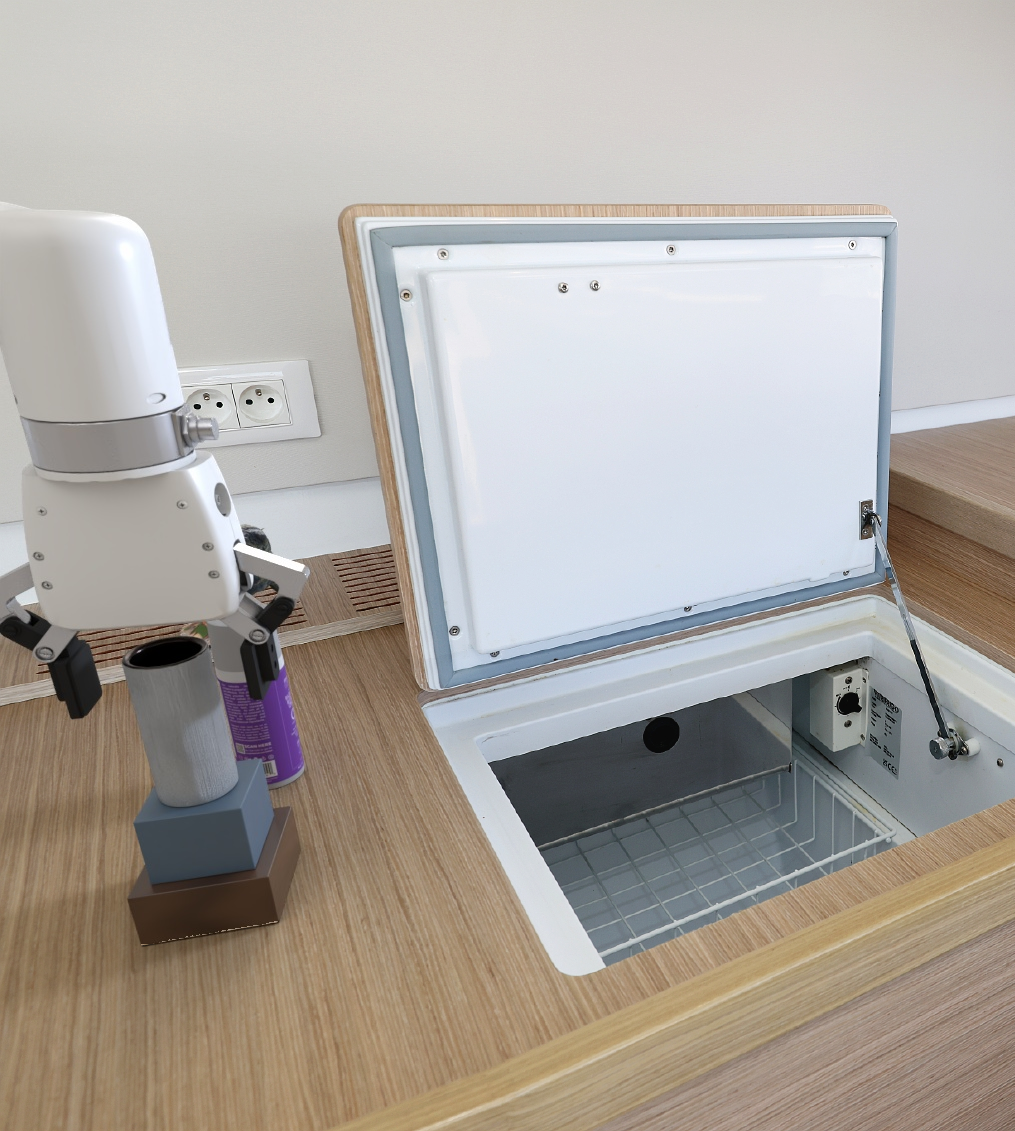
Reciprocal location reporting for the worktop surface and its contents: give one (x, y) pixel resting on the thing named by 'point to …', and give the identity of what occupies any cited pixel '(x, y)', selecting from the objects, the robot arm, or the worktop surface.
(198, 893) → the base block
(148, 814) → the top block
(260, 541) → the plant with pod
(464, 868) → the worktop surface
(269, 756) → the container
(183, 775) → the planter
